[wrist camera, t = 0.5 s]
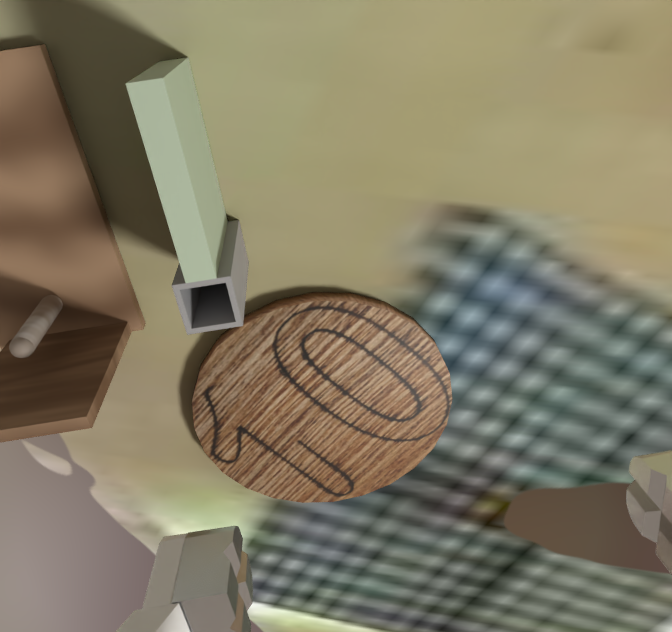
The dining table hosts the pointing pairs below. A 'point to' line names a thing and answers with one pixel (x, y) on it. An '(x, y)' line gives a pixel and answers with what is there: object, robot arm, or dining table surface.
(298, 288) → the dining table surface
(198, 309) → the pale green grey block
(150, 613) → the robot arm
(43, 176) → the cabinet base
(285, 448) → the trivet
